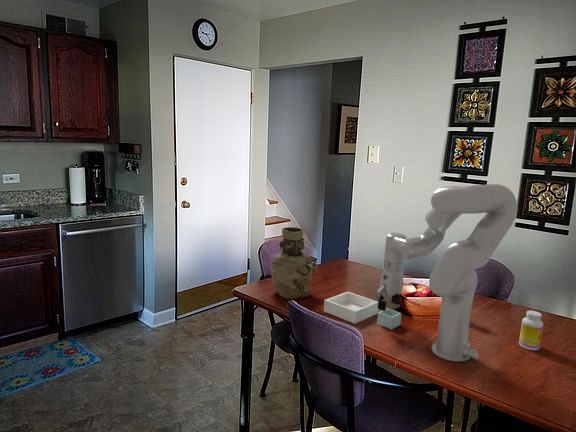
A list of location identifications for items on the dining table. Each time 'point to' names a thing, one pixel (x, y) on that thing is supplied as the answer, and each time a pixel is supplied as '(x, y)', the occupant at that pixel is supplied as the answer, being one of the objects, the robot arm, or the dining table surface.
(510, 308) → the dining table surface
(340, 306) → the white square tray
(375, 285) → the dining table surface
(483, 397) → the dining table surface
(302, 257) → the ceramic vessel
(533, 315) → the supplement bottle
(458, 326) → the robot arm
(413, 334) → the dining table surface
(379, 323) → the small crate
